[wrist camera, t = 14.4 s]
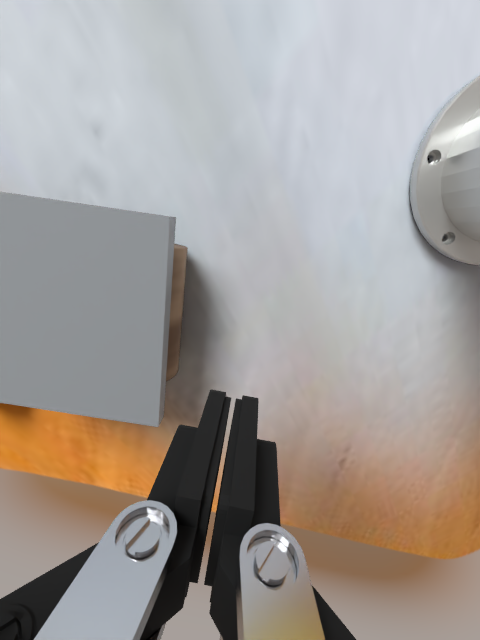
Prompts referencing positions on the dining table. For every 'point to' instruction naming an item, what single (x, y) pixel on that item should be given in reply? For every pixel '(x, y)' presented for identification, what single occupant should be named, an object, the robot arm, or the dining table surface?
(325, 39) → the dining table surface
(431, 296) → the dining table surface
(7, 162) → the dining table surface
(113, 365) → the slab
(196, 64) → the dining table surface
